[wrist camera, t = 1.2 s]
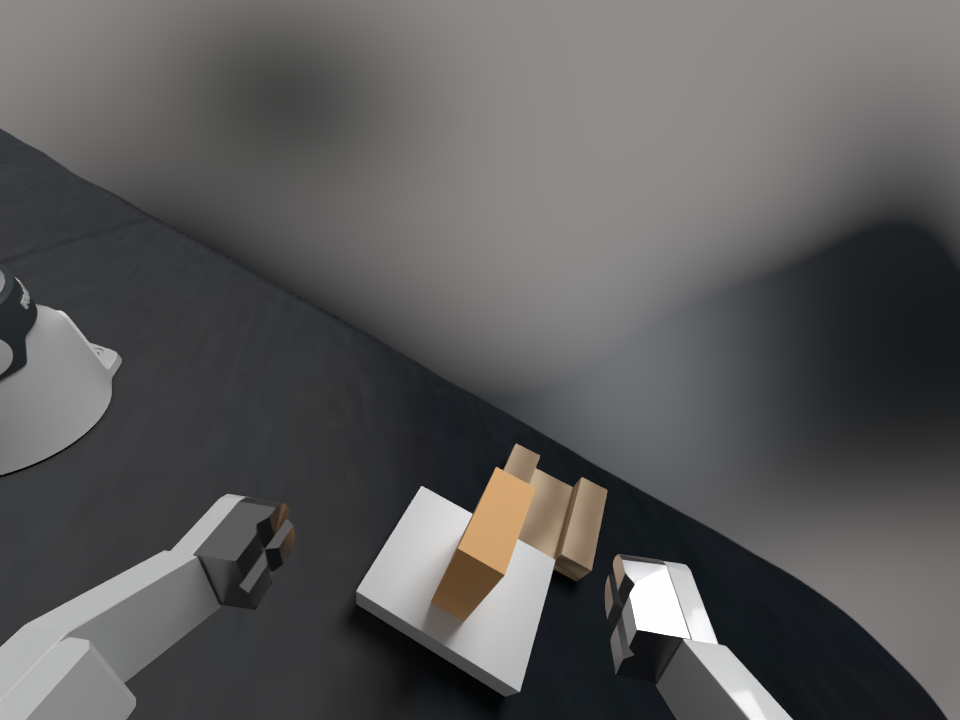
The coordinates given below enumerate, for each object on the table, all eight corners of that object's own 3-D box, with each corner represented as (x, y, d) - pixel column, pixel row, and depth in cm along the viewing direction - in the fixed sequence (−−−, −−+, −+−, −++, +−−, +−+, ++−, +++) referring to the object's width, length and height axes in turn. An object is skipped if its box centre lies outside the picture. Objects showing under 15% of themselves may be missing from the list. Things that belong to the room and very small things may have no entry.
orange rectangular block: (430, 601, 30) (457, 548, 22) (463, 533, 34) (496, 466, 26) (464, 621, 30) (504, 575, 22) (493, 549, 34) (536, 487, 26)
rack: (477, 526, 39) (484, 512, 37) (507, 459, 46) (515, 443, 43) (576, 581, 38) (591, 570, 35) (593, 504, 44) (607, 490, 42)
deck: (356, 603, 32) (356, 591, 30) (417, 503, 39) (421, 485, 37) (505, 696, 30) (519, 691, 28) (541, 573, 37) (555, 559, 35)
